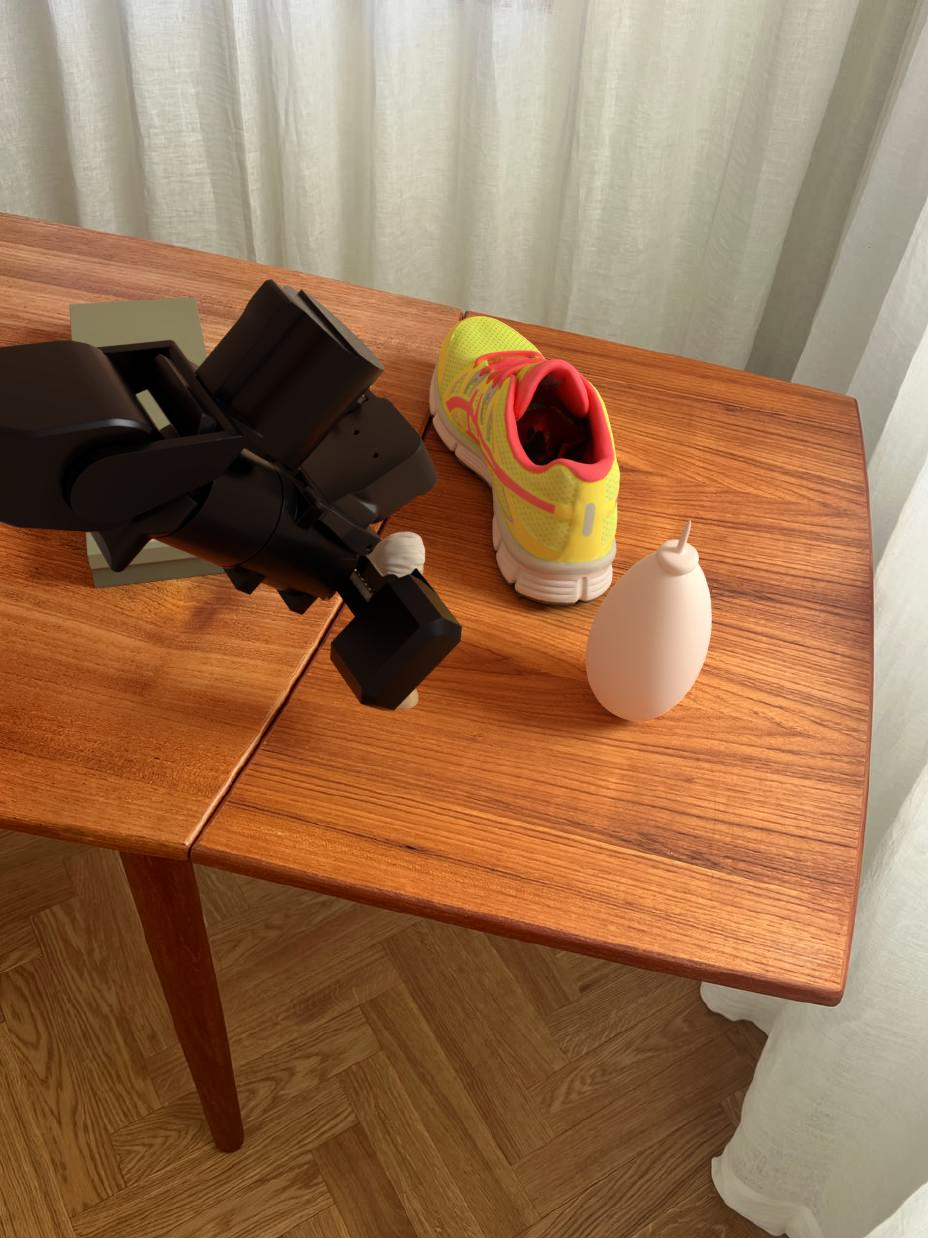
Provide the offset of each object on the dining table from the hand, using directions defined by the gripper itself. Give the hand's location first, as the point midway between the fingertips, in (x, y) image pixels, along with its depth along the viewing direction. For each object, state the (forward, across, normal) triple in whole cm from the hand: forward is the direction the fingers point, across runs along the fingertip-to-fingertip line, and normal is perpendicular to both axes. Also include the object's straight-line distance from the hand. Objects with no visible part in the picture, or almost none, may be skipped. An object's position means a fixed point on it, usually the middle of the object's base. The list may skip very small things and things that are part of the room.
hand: (414, 594), depth 67 cm
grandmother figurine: (+4, 0, +6) cm, 7 cm away
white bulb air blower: (+20, -6, -2) cm, 21 cm away
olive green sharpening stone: (+6, +34, +12) cm, 37 cm away
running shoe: (+24, +17, -6) cm, 30 cm away
